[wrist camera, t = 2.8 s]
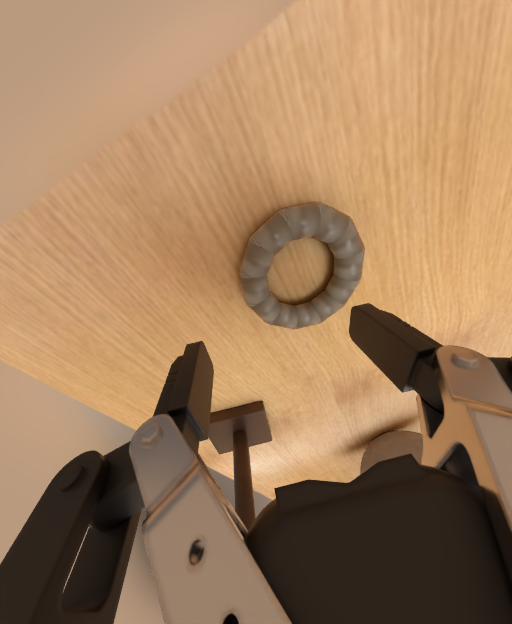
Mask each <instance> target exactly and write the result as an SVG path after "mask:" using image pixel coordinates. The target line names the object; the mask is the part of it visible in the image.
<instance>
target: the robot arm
mask: <svg viewBox="0 0 512 624" xmlns="http://www.w3.org/2000/svg"><path fill="white" fill-rule="evenodd" d="M349 334H350V337H351V339H352V340H353V342H354V343H355V344H356V345H357V346H358V347H359V348H360V349H361V350H362V351H363V352H364V353H365V354H366V355H367V356H368V357H369V358H370V359H371V360H372V362H373V363H374V364H375V365H376V366H377V367H378V368H379V369H380V370H381V371H382V372H383V373H384V374H385V375H386V376H387V377H388V378H389V379H390V380H391V381H392V382H393V383H394V384H395V386H396V387H397V388H398V389H399V390H400V391H401V392H406V391H410V390H415V391H416V392H417V393H418V394H417V397H416V401H417V407H418V413H419V419H420V425H421V431H422V437H423V452H422V465H421V464H419V463H418V462H417V460H416V459H415V458H414V456H413V455H412V454H411V453H410V454H407V455H403V456H399V457H395V458H391V459H387V460H383V461H379V462H377V463H376V464H374V465H373V466H372V467H370V468H369V469H368V470H366V471H365V472H364V473H362V474H361V475H360V476H358V477H357V478H356V479H354V480H353V481H351V482H349V483H340V482H329V481H318V480H305V481H301V482H298V483H294V484H290V485H286V486H282V487H278V488H274V489H275V494H276V499H275V500H273V501H272V502H270V503H269V504H268V505H267V506H266V507H265V508H264V509H263V510H262V511H261V512H260V514H259V515H258V516H257V518H256V519H255V520H254V522H253V524H252V525H251V527H250V529H249V531H247V529H246V527H245V526H244V524H243V523H242V521H241V519H240V518H239V516H238V515H237V513H236V512H235V510H234V509H233V507H232V506H231V504H230V503H229V501H228V500H227V498H226V497H225V495H224V494H223V492H222V491H221V489H220V487H219V486H218V484H217V483H216V481H215V479H214V478H213V476H212V475H211V473H210V471H209V470H208V468H207V466H206V465H205V463H204V462H203V460H202V458H201V457H200V455H199V454H198V448H199V441H203V440H207V439H208V434H209V422H210V410H211V398H212V387H213V375H214V370H213V364H212V361H211V359H210V356H209V354H208V352H207V349H206V347H205V345H204V343H203V342H202V341H200V342H195V343H191V344H187V345H186V348H185V351H184V354H183V356H179V357H178V358H177V359H176V360H175V361H174V363H173V364H172V365H171V368H170V371H169V373H168V376H167V379H166V384H164V387H163V390H162V393H161V396H160V398H159V401H158V404H157V407H156V409H155V412H154V415H153V417H152V418H150V419H148V420H147V421H146V422H145V423H143V424H142V425H141V426H140V427H139V429H138V430H137V431H136V433H135V434H134V436H133V438H132V440H131V441H130V442H128V443H126V444H124V445H123V446H121V447H119V448H117V449H115V450H114V451H112V452H110V453H108V454H107V455H104V456H103V455H101V454H100V453H98V452H97V451H88V452H85V453H83V454H80V455H79V456H77V457H76V458H74V459H73V460H71V461H70V462H69V463H68V464H66V465H65V466H64V467H63V468H62V469H61V470H60V471H59V473H58V474H57V475H56V476H55V477H54V478H53V480H52V481H51V483H50V484H49V486H48V487H47V489H46V490H45V492H44V494H43V495H42V497H41V499H40V500H39V502H38V504H37V505H36V507H35V508H34V510H33V512H32V513H31V515H30V517H29V518H28V520H27V522H26V523H25V525H24V526H23V528H22V530H21V532H20V533H19V535H18V536H17V538H16V540H15V541H14V543H13V544H12V546H11V548H10V549H9V551H8V553H7V554H6V556H5V558H4V559H3V561H2V563H1V564H0V624H113V623H114V619H115V615H116V610H117V606H118V603H119V598H120V594H121V590H122V586H123V582H124V578H125V574H126V569H127V566H128V562H129V558H130V554H131V550H132V546H133V542H134V538H135V534H136V530H137V526H138V522H139V518H140V514H141V509H142V508H144V507H145V508H146V512H147V518H146V519H145V520H144V522H143V525H142V534H143V540H144V544H145V548H146V552H147V555H148V560H149V563H150V567H151V571H152V575H153V579H154V583H155V586H156V591H157V594H158V598H159V602H160V606H161V610H162V614H163V618H164V622H165V624H512V357H511V358H494V357H486V356H484V355H482V354H480V353H478V352H476V351H474V350H471V349H468V348H464V347H460V346H443V345H441V344H439V343H438V342H436V341H435V340H433V339H431V338H430V337H428V336H427V335H425V334H424V333H422V332H420V331H419V330H417V329H416V328H414V327H411V326H410V325H409V324H408V323H406V322H404V321H402V320H401V319H400V318H398V317H397V316H395V315H393V314H391V313H388V312H385V311H382V310H379V309H377V308H376V307H374V306H373V305H371V304H369V303H367V304H363V305H358V306H354V307H352V309H351V316H350V326H349ZM88 527H89V529H88V532H87V535H86V537H85V539H84V542H83V544H82V547H81V549H80V552H79V554H78V557H77V559H76V562H75V564H74V567H73V570H72V572H71V574H70V577H69V579H68V582H67V584H66V587H65V589H64V586H65V583H66V581H67V578H68V576H69V573H70V571H71V568H72V566H73V563H74V561H75V558H76V556H77V553H78V551H79V548H80V546H81V543H82V541H83V538H84V536H85V533H86V531H87V528H88ZM63 590H64V592H63Z"/></svg>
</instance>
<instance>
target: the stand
mask: <svg viewBox="0 0 512 624" xmlns="http://www.w3.org/2000/svg"><path fill="white" fill-rule="evenodd" d="M208 437H209V439H210V440H211V442H212V443H213V445H214V447H215V448H216V450H217V451H218V453H219V454H223V453H227V452H231V451H233V457H234V487H235V488H234V489H235V512H236V513H237V515H238V516H239V518H240V519H241V521H242V523H243V524H244V526H245V527H246V529H247V531H249V529H250V527H251V525H252V524H253V522H254V520H255V519H256V518H255V508H254V498H253V487H252V477H251V467H250V456H249V447H250V446H254V445H258V444H262V443H266V442H270V441H272V436H271V431H270V428H269V424H268V420H267V416H266V412H265V409H264V405H263V401H260V402H256V403H252V404H248V405H244V406H239V407H235V408H231V409H227V410H223V411H219V412H215V413H211V414H210V422H209V434H208Z"/></svg>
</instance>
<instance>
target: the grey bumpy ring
mask: <svg viewBox="0 0 512 624" xmlns="http://www.w3.org/2000/svg"><path fill="white" fill-rule="evenodd" d="M310 236H311V237H314V238H316V239H318V240H321V241H323V242H326V243H327V245H328V247H329V248H330V250H331V252H332V254H333V255H334V273H333V276H332V278H331V280H330V281H329V283H328V285H327V287H326V289H325V290H324V291H323V292H322V293H321V294H319V295H318V296H317V297H316V298H314V299H313V300H312V301H310V302H307V303H303V304H299V305H294V306H293V305H289V304H285V303H282V302H279V301H278V300H277V299H276V298H275V297H274V296H273V294H272V293H271V292H270V290H269V284H268V277H267V274H268V271H269V268H270V266H271V263H272V261H273V258H274V256H275V254H277V253H278V252H279V251H280V250H281V249H282V248H283V247H285V246H286V245H287V244H288V243H289V242H290V241H292V240H296V239H301V238H306V237H310ZM364 252H365V247H364V244H363V242H362V240H361V238H360V236H359V233H358V231H357V229H356V227H355V225H354V223H353V220H352V219H351V218H350V217H349V216H348V215H346V214H344V213H342V212H340V211H338V210H336V209H334V208H331V207H329V206H327V205H325V204H323V203H321V202H311V203H307V204H302V205H297V206H292V207H288V208H283V209H280V210H278V211H277V212H276V213H275V214H274V215H273V216H272V217H270V218H269V219H268V220H267V221H266V222H265V223H264V224H263V225H262V226H261V227H260V228H259V229H258V230H257V231H256V232H255V233H254V234H253V235H252V236H251V237H250V239H249V241H248V244H247V247H246V251H245V254H244V257H243V260H242V263H241V266H240V270H239V276H240V280H241V284H242V289H243V293H244V297H245V301H246V303H247V305H248V306H249V307H250V308H251V309H252V310H253V311H254V312H255V313H256V314H257V315H258V316H259V317H260V318H261V319H262V320H264V321H265V322H266V323H268V324H271V325H275V326H280V327H284V328H289V329H298V328H302V327H306V326H311V325H315V324H319V323H321V322H323V321H324V320H326V319H327V318H328V317H330V316H331V315H333V314H334V313H335V312H337V311H338V310H340V309H341V308H342V307H343V306H344V305H345V304H346V303H347V301H348V299H349V298H350V296H351V295H352V293H353V292H354V290H355V288H356V287H357V285H358V284H359V282H360V280H361V275H362V268H363V260H364Z"/></svg>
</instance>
